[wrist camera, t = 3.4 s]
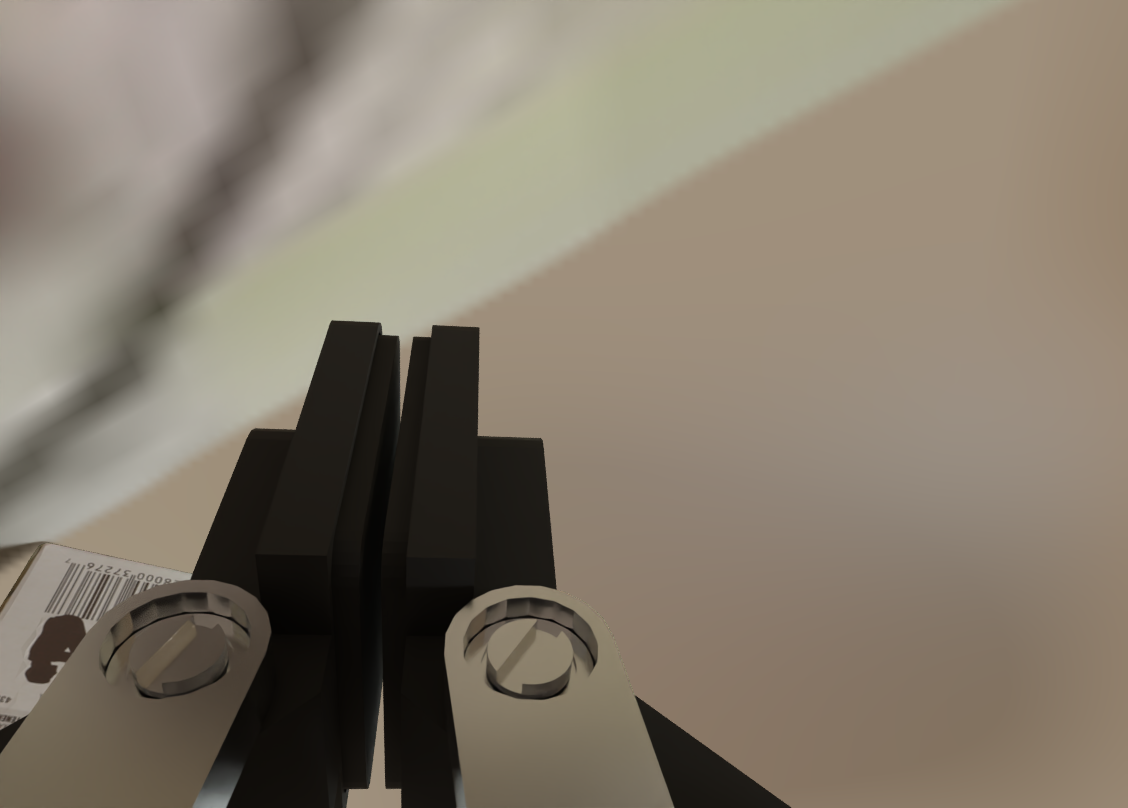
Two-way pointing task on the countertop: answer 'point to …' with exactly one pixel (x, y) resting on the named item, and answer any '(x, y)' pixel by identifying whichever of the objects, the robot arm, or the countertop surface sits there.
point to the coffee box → (60, 615)
